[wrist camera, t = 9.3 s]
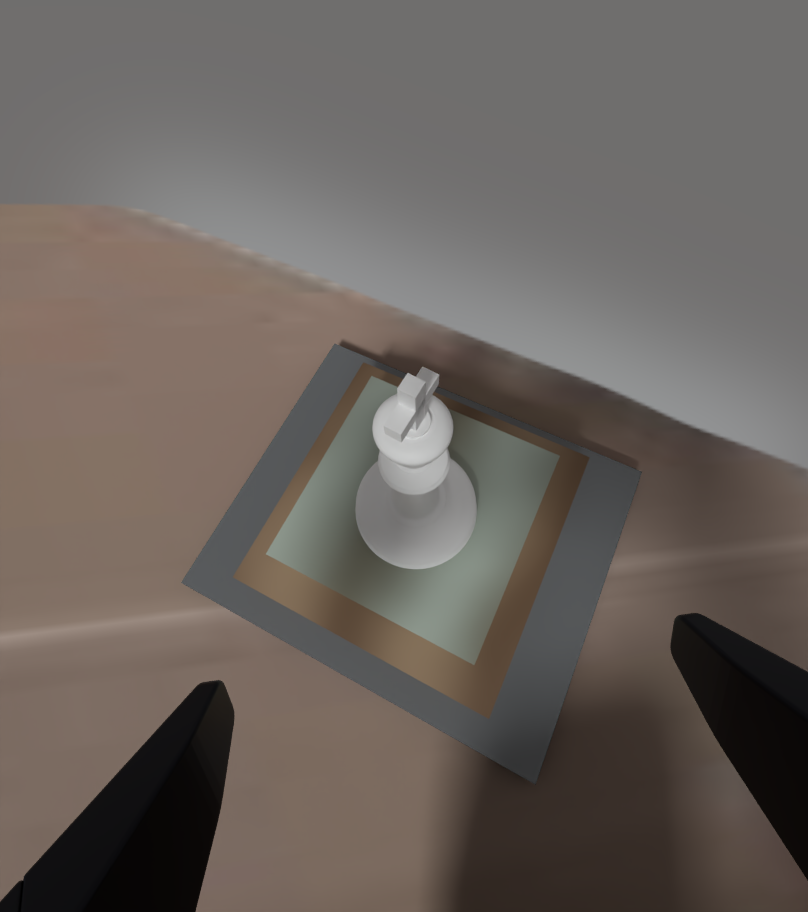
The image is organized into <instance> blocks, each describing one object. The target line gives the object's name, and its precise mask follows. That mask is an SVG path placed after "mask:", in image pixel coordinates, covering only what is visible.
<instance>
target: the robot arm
mask: <svg viewBox="0 0 808 912" xmlns="http://www.w3.org/2000/svg"><path fill="white" fill-rule="evenodd" d="M671 653H672V656H673V659H674V661H675V663H676V664H677V666H678V668H679V670H680V672H681V674H682V676H683V678H684V680H685V682H686V683H687V685H688V687H689V689H690V691H691V693H692V695H693V697H694V699H695V701H696V703H697V704H698V706H699V708H700V710H701V712H702V714H703V716H704V718H705V720H706V722H707V723H708V725H709V727H710V729H711V731H712V732H713V734H714V736H715V738H716V739H717V741H718V742H719V744H720V746H721V747H722V749H723V750H724V752H725V754H726V755H727V757H728V758H729V760H730V761H731V763H732V764H733V766H734V767H735V769H736V771H737V772H738V774H739V775H740V777H741V778H742V780H743V781H744V783H745V784H746V786H747V788H748V789H749V791H750V792H751V794H752V795H753V797H754V798H755V800H756V801H757V803H758V804H759V806H760V808H761V809H762V811H763V812H764V814H765V815H766V817H767V818H768V820H769V821H770V823H771V825H772V826H773V828H774V829H775V831H776V832H777V834H778V835H779V837H780V838H781V840H782V842H783V843H784V845H785V846H786V848H787V849H788V851H789V852H790V854H791V855H792V857H793V858H794V860H795V862H796V863H797V865H798V866H799V868H800V869H801V871H802V872H803V874H804V875H805V877H806V879H807V880H808V672H807V671H805V670H803V669H802V668H800V667H798V666H796V665H794V664H792V663H790V662H789V661H787V660H785V659H783V658H781V657H779V656H777V655H776V654H774V653H772V652H770V651H768V650H766V649H765V648H763V647H761V646H759V645H757V644H755V643H753V642H752V641H750V640H748V639H746V638H744V637H742V636H740V635H739V634H737V633H735V632H733V631H731V630H729V629H728V628H726V627H724V626H722V625H720V624H718V623H716V622H715V621H713V620H711V619H709V618H707V617H705V616H703V615H701V614H698V613H691V614H683V615H678V616H677V617H676V618H675V620H674V625H673V632H672V638H671ZM233 726H234V709H233V705H232V703H231V700H230V698H229V695H228V692H227V690H226V687H225V685H224V683H223V682H222V681H221V680H216V681H209V682H203V683H200V684H199V685H197V686H196V687H195V689H194V690H193V691H192V692H191V693H190V694H189V695H188V696H187V697H186V698H185V699H184V701H183V702H182V703H181V704H180V705H179V706H178V707H177V708H176V709H175V710H174V712H173V713H172V714H171V715H170V716H169V717H168V718H167V719H166V720H165V721H164V723H163V724H162V725H161V726H160V727H159V728H158V729H157V730H156V731H155V732H154V734H153V735H152V736H151V737H150V738H149V739H148V740H147V741H146V742H145V743H144V745H143V746H142V747H141V748H140V749H139V750H138V751H137V752H136V753H135V754H134V756H133V757H132V758H131V759H130V760H129V761H128V762H127V763H126V764H125V765H124V767H123V768H122V769H121V770H120V771H119V772H118V773H117V774H116V775H115V776H114V778H113V779H112V780H111V781H110V782H109V783H108V784H107V785H106V786H105V787H104V788H103V790H102V791H101V792H100V793H99V794H98V795H97V796H96V797H95V798H94V799H93V801H92V802H91V803H90V804H89V805H88V806H87V807H86V808H85V809H84V810H83V812H82V813H81V814H80V815H79V816H78V817H77V818H76V819H75V820H74V821H73V823H72V824H71V825H70V826H69V827H68V828H67V829H66V830H65V831H64V832H63V834H62V835H61V836H60V837H59V838H58V839H57V840H56V841H55V842H54V843H53V845H52V846H51V847H50V848H49V849H48V850H47V851H46V852H45V853H44V854H43V856H42V857H41V858H40V859H39V860H38V861H37V862H36V863H35V864H34V865H33V866H32V868H31V869H30V870H29V871H28V872H27V873H26V874H25V876H24V879H23V880H21V881H19V882H18V883H17V884H16V885H15V886H14V887H13V888H12V889H11V890H10V892H9V893H8V894H7V895H6V896H5V897H4V898H3V899H2V900H1V901H0V912H195V911H196V907H197V903H198V899H199V895H200V891H201V887H202V883H203V879H204V875H205V871H206V867H207V863H208V859H209V855H210V851H211V847H212V843H213V839H214V835H215V831H216V827H217V823H218V818H219V814H220V810H221V804H222V798H223V793H224V786H225V779H226V772H227V766H228V759H229V752H230V746H231V739H232V732H233Z"/></svg>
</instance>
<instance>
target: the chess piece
mask: <svg viewBox="0 0 808 912" xmlns="http://www.w3.org/2000/svg"><path fill="white" fill-rule="evenodd" d="M438 385H439V374H437V373H435V372H433V371H431V370H429V369H427V368H425V367H423V366H422V368H421V369H420V371H419V372H418V374H417V375H416V377H415V376H413V375H411V374H409V373H407V375H406V376H405V378H404V379H403V381H402V382H401V384H400V385H399V387H398V388H397V394H395V395H393V396H391V397H389V398H388V399H387V400H385V401H384V402H383V403H382V404H381V406H380V407H379V408H378V410H377V412H376V414H375V416H374V419H373V425H372V432H373V437H374V440H375V443H376V445H377V447H378V448H379V450H380V451H379V455H378V461H377V462H376V463H375V464H374V465H373V466H372V467H371V468H370V469H369V470H368V471H367V473H366V474H365V476H364V477H363V479H362V481H361V483H360V486H359V489H358V492H357V496H356V507H355V513H356V521H357V525H358V529H359V531H360V534H361V536H362V538H363V539H364V541H365V543H366V544H367V545H368V547H369V548H370V549H371V550H372V551H373V552H374V553H375V554H376V555H377V556H379V557H380V558H381V559H383V560H384V561H386V562H388V563H390V564H392V565H395V566H398V567H401V568H406V569H426V568H431V567H435V566H438V565H440V564H442V563H444V562H446V561H448V560H450V559H451V558H453V557H454V556H455V555H456V554H457V553H459V552H460V551H461V549H462V548H463V547H464V546H465V545H466V543H467V542H468V540H469V538H470V537H471V534H472V532H473V530H474V527H475V523H476V517H477V503H476V496H475V492H474V488H473V486H472V483H471V481H470V479H469V477H468V476H467V474H466V473H465V471H464V470H463V469H462V468H461V467H460V466H459V465H458V464H457V463H456V462H455V461H454V460H452V459H451V458H450V454H449V451H448V446H449V444H450V442H451V439H452V436H453V420H452V416H451V414H450V412H449V410H448V408H447V407H446V406H445V404H444V403H443V402H442V401H441V400H439V399H438V398H437V397H435V396H433V395H432V394H433V392H434V391H435V389H436V388H437V386H438Z"/></svg>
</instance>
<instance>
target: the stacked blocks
mask: <svg viewBox="0 0 808 912" xmlns="http://www.w3.org/2000/svg"><path fill="white" fill-rule="evenodd" d="M402 381H403V379H402V378H400V377H398V376H395V375H393V374H390V373H388V372H386V371H383V370H381V369H378V368H376V367H374V366H371V365H369V364H367V363H364V362H363V364H362V365H361V367H360V369H359V370H358V372H357V373H356V375H355V377H354V378H353V380H352V382H351V383H350V385H349V387H348V388H347V390H346V392H345V393H344V395H343V397H342V398H341V400H340V401H339V403H338V405H337V406H336V408H335V410H334V411H333V413H332V415H331V416H330V418H329V420H328V421H327V423H326V424H325V426H324V428H323V429H322V431H321V433H320V434H319V436H318V438H317V439H316V441H315V443H314V444H313V446H312V448H311V449H310V451H309V452H308V454H307V456H306V457H305V459H304V461H303V462H302V464H301V466H300V467H299V469H298V471H297V472H296V474H295V475H294V477H293V479H292V480H291V482H290V484H289V485H288V487H287V489H286V490H285V492H284V494H283V495H282V497H281V498H280V500H279V502H278V503H277V505H276V507H275V508H274V510H273V512H272V513H271V515H270V517H269V518H268V520H267V522H266V523H265V525H264V526H263V528H262V530H261V531H260V533H259V535H258V536H257V538H256V540H255V541H254V543H253V545H252V546H251V548H250V549H249V551H248V553H247V554H246V556H245V558H244V559H243V561H242V563H241V564H240V566H239V568H238V569H237V571H236V573H235V574H234V576H233V578H235V579H237V580H239V581H240V582H242V583H244V584H246V585H248V586H249V587H251V588H253V589H255V590H257V591H258V592H260V593H262V594H264V595H266V596H267V597H269V598H271V599H273V600H275V601H276V602H278V603H280V604H282V605H284V606H286V607H287V608H289V609H291V610H293V611H295V612H296V613H298V614H300V615H302V616H304V617H305V618H307V619H309V620H311V621H313V622H314V623H316V624H318V625H320V626H322V627H323V628H325V629H327V630H329V631H331V632H333V633H334V634H336V635H338V636H340V637H342V638H343V639H345V640H347V641H349V642H351V643H352V644H354V645H356V646H358V647H360V648H361V649H363V650H365V651H367V652H369V653H370V654H372V655H374V656H376V657H378V658H380V659H381V660H383V661H385V662H387V663H389V664H390V665H392V666H394V667H396V668H398V669H399V670H401V671H403V672H405V673H407V674H408V675H410V676H412V677H414V678H416V679H417V680H419V681H421V682H423V683H425V684H427V685H428V686H430V687H432V688H434V689H436V690H437V691H439V692H441V693H443V694H445V695H446V696H448V697H450V698H452V699H454V700H455V701H457V702H459V703H461V704H463V705H465V706H466V707H468V708H470V709H472V710H474V711H475V712H477V713H479V714H481V715H483V716H484V717H486V718H488V719H489V718H490V715H491V713H492V710H493V707H494V705H495V702H496V700H497V697H498V694H499V692H500V689H501V687H502V684H503V681H504V679H505V676H506V674H507V671H508V668H509V666H510V663H511V661H512V658H513V655H514V653H515V650H516V648H517V645H518V642H519V640H520V637H521V635H522V632H523V629H524V627H525V624H526V622H527V619H528V616H529V614H530V611H531V609H532V606H533V603H534V601H535V598H536V596H537V593H538V590H539V588H540V585H541V583H542V580H543V578H544V575H545V572H546V570H547V567H548V565H549V562H550V559H551V557H552V554H553V552H554V549H555V546H556V544H557V541H558V539H559V536H560V533H561V531H562V528H563V526H564V523H565V520H566V518H567V515H568V513H569V510H570V507H571V505H572V502H573V500H574V497H575V494H576V492H577V489H578V487H579V484H580V481H581V479H582V476H583V474H584V471H585V468H586V466H587V463H588V461H589V458H590V457H588V456H586V455H583V454H581V453H578V452H576V451H574V450H571V449H569V448H567V447H564V446H562V445H559V444H557V443H555V442H552V441H550V440H548V439H545V438H543V437H540V436H538V435H536V434H533V433H531V432H528V431H526V430H524V429H521V428H519V427H517V426H514V425H512V424H509V423H507V422H505V421H502V420H500V419H498V418H495V417H493V416H490V415H488V414H486V413H483V412H481V411H478V410H476V409H474V408H471V407H469V406H467V405H464V404H462V403H459V402H457V401H455V400H452V399H450V398H448V397H445V396H443V395H440V394H438V393H436V392H433V394H432V395H433V396H435V397H437V398H438V399H439V400H441V401H442V402H443V403H444V404H445V406H446V407H447V408H448V410H449V412H450V414H451V416H452V420H453V436H452V439H451V442H450V444H449V446H448V451H449V454H450V458H451V459H452V460H454V461H455V462H456V463H457V464H458V465H459V466H460V467H461V468H462V469H463V470H464V471H465V473H466V474H467V476H468V477H469V479H470V481H471V483H472V486H473V488H474V492H475V496H476V503H477V517H476V523H475V527H474V530H473V532H472V534H471V537H470V538H469V540H468V542H467V543H466V545H465V546H464V547H463V548H462V549H461V551H460V552H459V553H457V554H456V555H455V556H454V557H453V558H451V559H450V560H448V561H446V562H444V563H442V564H440V565H438V566H435V567H431V568H426V569H406V568H401V567H398V566H395V565H392V564H390V563H388V562H386V561H384V560H383V559H381V558H380V557H379V556H377V555H376V554H375V553H374V552H373V551H372V550H371V549H370V548H369V547H368V545H367V544H366V543H365V541H364V539H363V538H362V536H361V534H360V531H359V529H358V525H357V521H356V513H355V507H356V496H357V492H358V489H359V486H360V483H361V481H362V479H363V477H364V476H365V474H366V473H367V471H368V470H369V469H370V468H371V467H372V466H373V465H374V464H375V463H376V462H377V461H378V455H379V451H380V450H379V448H378V447H377V445H376V443H375V440H374V437H373V432H372V425H373V419H374V416H375V414H376V412H377V410H378V408H379V407H380V406H381V404H382V403H383V402H384V401H385V400H387V399H388V398H389V397H391V396H393V395H395V394H397V388H398V387H399V385H400V384H401V382H402Z"/></svg>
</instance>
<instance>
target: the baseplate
mask: <svg viewBox="0 0 808 912" xmlns="http://www.w3.org/2000/svg"><path fill="white" fill-rule="evenodd" d="M363 362H364V363H367V364H369V365H371V366H374V367H376V368H378V369H381V370H383V371H386V372H388V373H390V374H393V375H395V376H398V377H400V378H402V379H404V378H405V376H406V375H407V374H406V373H404V372H401V371H399V370H397V369H394V368H392V367H389V366H387V365H385V364H382V363H380V362H377V361H375V360H373V359H370V358H368V357H365V356H363V355H361V354H358V353H356V352H353V351H351V350H349V349H346V348H344V347H341V346H339V345H337V344H334V345H333V347H332V349H331V350H330V352H329V353H328V355H327V356H326V358H325V359H324V361H323V363H322V364H321V366H320V367H319V369H318V370H317V372H316V373H315V375H314V377H313V378H312V380H311V381H310V383H309V384H308V386H307V388H306V389H305V391H304V392H303V394H302V395H301V397H300V398H299V400H298V402H297V403H296V405H295V406H294V408H293V409H292V411H291V412H290V414H289V416H288V417H287V419H286V420H285V422H284V423H283V425H282V426H281V428H280V430H279V431H278V433H277V434H276V436H275V437H274V439H273V440H272V442H271V444H270V445H269V447H268V448H267V450H266V451H265V453H264V454H263V456H262V458H261V459H260V461H259V462H258V464H257V465H256V467H255V468H254V470H253V472H252V473H251V475H250V476H249V478H248V479H247V481H246V482H245V484H244V486H243V487H242V489H241V490H240V492H239V493H238V495H237V496H236V498H235V500H234V501H233V503H232V504H231V506H230V507H229V509H228V510H227V512H226V514H225V515H224V517H223V518H222V520H221V521H220V523H219V525H218V526H217V528H216V529H215V531H214V532H213V534H212V535H211V537H210V539H209V540H208V542H207V543H206V545H205V546H204V548H203V549H202V551H201V553H200V554H199V556H198V557H197V559H196V560H195V562H194V563H193V565H192V567H191V568H190V570H189V571H188V573H187V574H186V576H185V577H184V579H183V581H182V582H181V583H183V584H184V585H186V586H188V587H190V588H191V589H193V590H195V591H197V592H198V593H200V594H202V595H204V596H205V597H207V598H209V599H211V600H212V601H214V602H216V603H218V604H219V605H221V606H223V607H225V608H227V609H228V610H230V611H232V612H234V613H235V614H237V615H239V616H241V617H242V618H244V619H246V620H248V621H249V622H251V623H253V624H255V625H256V626H258V627H260V628H262V629H263V630H265V631H267V632H269V633H270V634H272V635H274V636H276V637H277V638H279V639H281V640H283V641H284V642H286V643H288V644H290V645H291V646H293V647H295V648H297V649H298V650H300V651H302V652H304V653H305V654H307V655H309V656H311V657H312V658H314V659H316V660H318V661H319V662H321V663H323V664H325V665H326V666H328V667H330V668H332V669H333V670H335V671H337V672H339V673H340V674H342V675H344V676H346V677H347V678H349V679H351V680H353V681H355V682H356V683H358V684H360V685H362V686H363V687H365V688H367V689H369V690H370V691H372V692H374V693H376V694H377V695H379V696H381V697H383V698H384V699H386V700H388V701H390V702H391V703H393V704H395V705H397V706H398V707H400V708H402V709H404V710H405V711H407V712H409V713H411V714H412V715H414V716H416V717H418V718H419V719H421V720H423V721H425V722H426V723H428V724H430V725H432V726H433V727H435V728H437V729H439V730H440V731H442V732H444V733H446V734H447V735H449V736H451V737H453V738H454V739H456V740H458V741H460V742H461V743H463V744H465V745H467V746H468V747H470V748H472V749H474V750H476V751H477V752H479V753H481V754H483V755H484V756H486V757H488V758H490V759H491V760H493V761H495V762H497V763H498V764H500V765H502V766H504V767H505V768H507V769H509V770H511V771H512V772H514V773H516V774H518V775H519V776H521V777H523V778H525V779H526V780H528V781H530V782H532V783H533V784H535V785H536V782H537V779H538V776H539V773H540V770H541V767H542V764H543V761H544V758H545V755H546V752H547V749H548V746H549V743H550V741H551V738H552V735H553V732H554V729H555V726H556V723H557V720H558V717H559V714H560V711H561V708H562V705H563V702H564V699H565V696H566V693H567V691H568V688H569V685H570V682H571V679H572V676H573V673H574V670H575V667H576V664H577V661H578V658H579V655H580V652H581V649H582V646H583V644H584V641H585V638H586V635H587V632H588V629H589V626H590V623H591V620H592V617H593V614H594V611H595V608H596V605H597V602H598V599H599V596H600V594H601V591H602V588H603V585H604V582H605V579H606V576H607V573H608V570H609V567H610V564H611V561H612V558H613V555H614V552H615V549H616V547H617V544H618V541H619V538H620V535H621V532H622V529H623V526H624V523H625V520H626V517H627V514H628V511H629V508H630V505H631V502H632V500H633V497H634V494H635V491H636V488H637V485H638V482H639V479H640V476H641V473H642V472H641V471H639V470H636V469H634V468H632V467H629V466H627V465H624V464H622V463H620V462H617V461H615V460H612V459H610V458H608V457H605V456H603V455H600V454H598V453H596V452H593V451H591V450H588V449H586V448H584V447H581V446H579V445H576V444H574V443H572V442H569V441H567V440H564V439H562V438H560V437H557V436H555V435H552V434H550V433H548V432H545V431H543V430H540V429H538V428H536V427H533V426H531V425H528V424H526V423H524V422H521V421H519V420H516V419H514V418H512V417H509V416H507V415H504V414H502V413H500V412H497V411H495V410H492V409H490V408H488V407H485V406H483V405H480V404H478V403H476V402H473V401H471V400H469V399H466V398H464V397H461V396H459V395H457V394H454V393H452V392H449V391H447V390H445V389H442V388H440V387H437V388H436V389H435V391H434V392H436V393H438V394H440V395H443V396H445V397H448V398H450V399H452V400H455V401H457V402H459V403H462V404H464V405H467V406H469V407H471V408H474V409H476V410H478V411H481V412H483V413H486V414H488V415H490V416H493V417H495V418H498V419H500V420H502V421H505V422H507V423H509V424H512V425H514V426H517V427H519V428H521V429H524V430H526V431H528V432H531V433H533V434H536V435H538V436H540V437H543V438H545V439H548V440H550V441H552V442H555V443H557V444H559V445H562V446H564V447H567V448H569V449H571V450H574V451H576V452H578V453H581V454H583V455H586V456H588V457H590V458H589V461H588V463H587V466H586V468H585V471H584V474H583V476H582V479H581V481H580V484H579V487H578V489H577V492H576V494H575V497H574V500H573V502H572V505H571V507H570V510H569V513H568V515H567V518H566V520H565V523H564V526H563V528H562V531H561V533H560V536H559V539H558V541H557V544H556V546H555V549H554V552H553V554H552V557H551V559H550V562H549V565H548V567H547V570H546V572H545V575H544V578H543V580H542V583H541V585H540V588H539V590H538V593H537V596H536V598H535V601H534V603H533V606H532V609H531V611H530V614H529V616H528V619H527V622H526V624H525V627H524V629H523V632H522V635H521V637H520V640H519V642H518V645H517V648H516V650H515V653H514V655H513V658H512V661H511V663H510V666H509V668H508V671H507V674H506V676H505V679H504V681H503V684H502V687H501V689H500V692H499V694H498V697H497V700H496V702H495V705H494V707H493V710H492V713H491V715H490V718H489V719H488V718H486V717H484V716H483V715H481V714H479V713H477V712H475V711H474V710H472V709H470V708H468V707H466V706H465V705H463V704H461V703H459V702H457V701H455V700H454V699H452V698H450V697H448V696H446V695H445V694H443V693H441V692H439V691H437V690H436V689H434V688H432V687H430V686H428V685H427V684H425V683H423V682H421V681H419V680H417V679H416V678H414V677H412V676H410V675H408V674H407V673H405V672H403V671H401V670H399V669H398V668H396V667H394V666H392V665H390V664H389V663H387V662H385V661H383V660H381V659H380V658H378V657H376V656H374V655H372V654H370V653H369V652H367V651H365V650H363V649H361V648H360V647H358V646H356V645H354V644H352V643H351V642H349V641H347V640H345V639H343V638H342V637H340V636H338V635H336V634H334V633H333V632H331V631H329V630H327V629H325V628H323V627H322V626H320V625H318V624H316V623H314V622H313V621H311V620H309V619H307V618H305V617H304V616H302V615H300V614H298V613H296V612H295V611H293V610H291V609H289V608H287V607H286V606H284V605H282V604H280V603H278V602H276V601H275V600H273V599H271V598H269V597H267V596H266V595H264V594H262V593H260V592H258V591H257V590H255V589H253V588H251V587H249V586H248V585H246V584H244V583H242V582H240V581H239V580H237V579H235V578H233V576H234V574H235V573H236V571H237V569H238V568H239V566H240V564H241V563H242V561H243V559H244V558H245V556H246V554H247V553H248V551H249V549H250V548H251V546H252V545H253V543H254V541H255V540H256V538H257V536H258V535H259V533H260V531H261V530H262V528H263V526H264V525H265V523H266V522H267V520H268V518H269V517H270V515H271V513H272V512H273V510H274V508H275V507H276V505H277V503H278V502H279V500H280V498H281V497H282V495H283V494H284V492H285V490H286V489H287V487H288V485H289V484H290V482H291V480H292V479H293V477H294V475H295V474H296V472H297V471H298V469H299V467H300V466H301V464H302V462H303V461H304V459H305V457H306V456H307V454H308V452H309V451H310V449H311V448H312V446H313V444H314V443H315V441H316V439H317V438H318V436H319V434H320V433H321V431H322V429H323V428H324V426H325V424H326V423H327V421H328V420H329V418H330V416H331V415H332V413H333V411H334V410H335V408H336V406H337V405H338V403H339V401H340V400H341V398H342V397H343V395H344V393H345V392H346V390H347V388H348V387H349V385H350V383H351V382H352V380H353V378H354V377H355V375H356V373H357V372H358V370H359V369H360V367H361V365H362V364H363Z"/></svg>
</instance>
